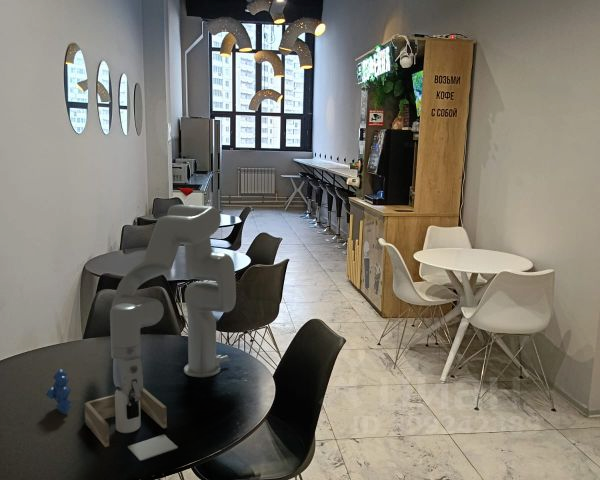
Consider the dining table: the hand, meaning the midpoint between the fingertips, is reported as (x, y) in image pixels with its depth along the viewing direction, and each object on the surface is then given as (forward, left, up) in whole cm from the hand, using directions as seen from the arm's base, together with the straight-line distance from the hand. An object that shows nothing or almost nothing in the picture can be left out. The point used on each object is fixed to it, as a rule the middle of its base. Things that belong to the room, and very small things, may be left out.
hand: (127, 412), depth 150 cm
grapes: (+12, -22, -5) cm, 25 cm away
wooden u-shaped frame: (0, -2, -5) cm, 5 cm away
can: (0, 0, -5) cm, 5 cm away
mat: (-1, +13, -5) cm, 14 cm away
